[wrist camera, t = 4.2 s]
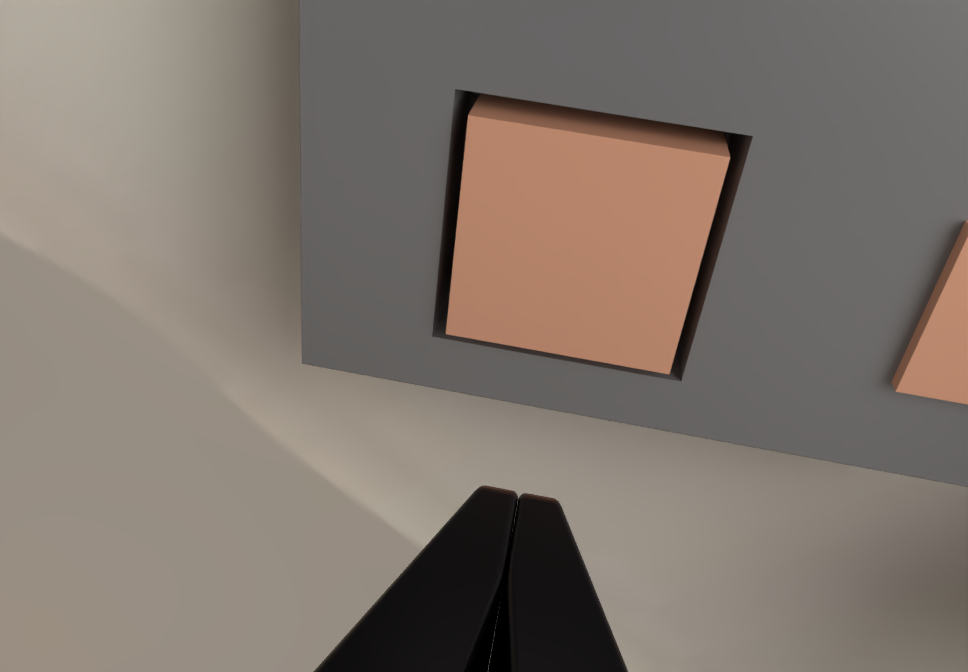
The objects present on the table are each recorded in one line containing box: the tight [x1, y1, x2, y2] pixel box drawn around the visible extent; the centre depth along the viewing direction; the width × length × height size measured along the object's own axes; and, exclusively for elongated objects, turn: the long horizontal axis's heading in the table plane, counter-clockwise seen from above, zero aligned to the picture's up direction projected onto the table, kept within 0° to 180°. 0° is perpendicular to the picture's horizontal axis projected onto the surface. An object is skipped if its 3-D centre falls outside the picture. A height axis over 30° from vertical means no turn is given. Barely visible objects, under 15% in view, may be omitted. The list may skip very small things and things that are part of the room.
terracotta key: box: [446, 93, 730, 374], centre depth 15 cm, size 4×4×2 cm
